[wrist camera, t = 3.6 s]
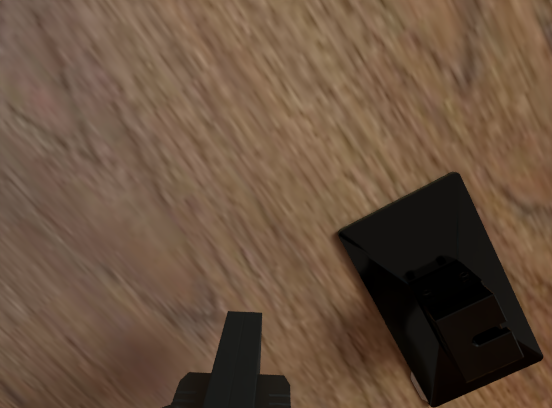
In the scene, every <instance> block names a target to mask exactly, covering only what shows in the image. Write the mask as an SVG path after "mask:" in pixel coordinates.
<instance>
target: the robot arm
mask: <svg viewBox="0 0 552 408" xmlns="http://www.w3.org/2000/svg"><path fill="white" fill-rule="evenodd" d="M261 332H262V313H255V312H232V311H228V313H227V317H226V321H225V324H224V328H223V332H222V336H221V339H220V343H219V347H218V350H217V354H216V358H215V362H214V365H213V369H212V373H194V372H189V373H188V374H187V375H186V376H185V377H183V378H182V379H181V380H180V382H179V385H178V387H177V390H176V393H175V395H174V398H173V402H172V403H171V405H168V406H165V407H162V408H291V402H290V384H289V382H288V381H287V379H286V378H285V376H284V375H262V374H260V360H261Z"/></svg>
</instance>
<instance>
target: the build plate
mask: <svg viewBox="0 0 552 408" xmlns="http://www.w3.org/2000/svg"><path fill="white" fill-rule="evenodd" d="M338 236H339V238H340V240H341V242H342V243H343V245H344V247H345V249H346V251H347V253H348V255H349V256H350V258H351V260H352V262H353V264H354V266H355V267H356V269H357V271H358V273H359V275H360V277H361V279H362V280H363V282H364V284H365V286H366V288H367V290H368V292H369V293H370V295H371V297H372V299H373V301H374V303H375V304H376V306H377V308H378V310H379V312H380V314H381V316H382V317H383V319H384V321H385V323H386V325H387V327H388V329H389V330H390V332H391V334H392V336H393V338H394V340H395V341H396V343H397V345H398V347H399V349H400V351H401V353H402V354H403V356H404V358H405V360H406V362H407V364H408V366H409V367H410V369H411V377H410V378H411V380H412V382H413V384H414V386H415V388H416V390H417V392H418V393H419V395H420V397H421V399H423V400H425V401H427V402H428V403H429V404H430V406H431V407H437V406H440V405H442V404H444V403H446V402H449V401H451V400H453V399H455V398H458V397H460V396H462V395H465V394H467V393H469V392H471V391H474V390H476V389H478V388H480V387H483V386H485V385H487V384H489V383H492V382H494V381H496V380H498V379H501V378H503V377H505V376H508V375H510V374H512V373H514V372H517V371H519V370H521V369H523V368H526V367H528V366H530V365H532V364H535V363H537V362H539V361H541V360H542V359H543V354H542V352H541V350H540V348H539V346H538V344H537V341H536V339H535V337H534V335H533V333H532V330H531V328H530V326H529V324H528V322H527V320H526V317H525V315H524V313H523V311H522V309H521V307H520V304H519V302H518V300H517V298H516V296H515V293H514V291H513V289H512V287H511V285H510V283H509V280H508V278H507V276H506V274H505V272H504V269H503V267H502V265H501V263H500V261H499V259H498V256H497V254H496V252H495V250H494V248H493V245H492V243H491V241H490V239H489V237H488V235H487V232H486V230H485V228H484V226H483V224H482V221H481V219H480V217H479V215H478V213H477V211H476V208H475V206H474V204H473V202H472V200H471V197H470V195H469V193H468V191H467V189H466V187H465V184H464V182H463V180H462V178H461V176H460V174H459V173H457V172H451V173H449V174H447V175H445V176H443V177H441V178H439V179H437V180H435V181H434V182H432V183H430V184H428V185H426V186H424V187H422V188H420V189H418V190H416V191H414V192H412V193H410V194H408V195H406V196H404V197H402V198H401V199H399V200H397V201H395V202H393V203H391V204H389V205H387V206H385V207H383V208H381V209H379V210H377V211H375V212H373V213H371V214H369V215H367V216H366V217H364V218H362V219H360V220H358V221H356V222H354V223H352V224H350V225H348V226H346V227H344V228H342V229H340V230H339V231H338Z"/></svg>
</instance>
